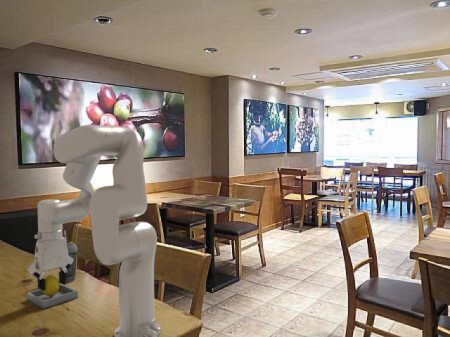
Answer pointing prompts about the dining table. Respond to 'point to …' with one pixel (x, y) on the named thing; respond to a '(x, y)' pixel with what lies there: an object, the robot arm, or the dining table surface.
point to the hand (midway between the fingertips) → (52, 286)
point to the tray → (47, 301)
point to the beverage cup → (72, 269)
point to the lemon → (51, 285)
